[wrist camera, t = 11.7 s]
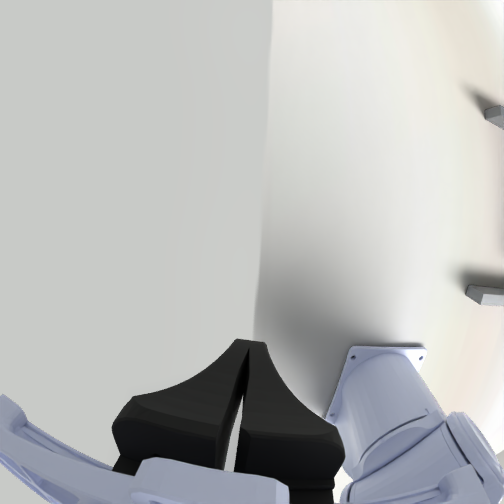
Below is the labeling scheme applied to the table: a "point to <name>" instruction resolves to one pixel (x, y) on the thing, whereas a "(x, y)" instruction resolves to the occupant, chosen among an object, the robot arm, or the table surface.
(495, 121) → the grey open frame
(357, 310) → the table surface
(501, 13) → the table surface
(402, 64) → the table surface
